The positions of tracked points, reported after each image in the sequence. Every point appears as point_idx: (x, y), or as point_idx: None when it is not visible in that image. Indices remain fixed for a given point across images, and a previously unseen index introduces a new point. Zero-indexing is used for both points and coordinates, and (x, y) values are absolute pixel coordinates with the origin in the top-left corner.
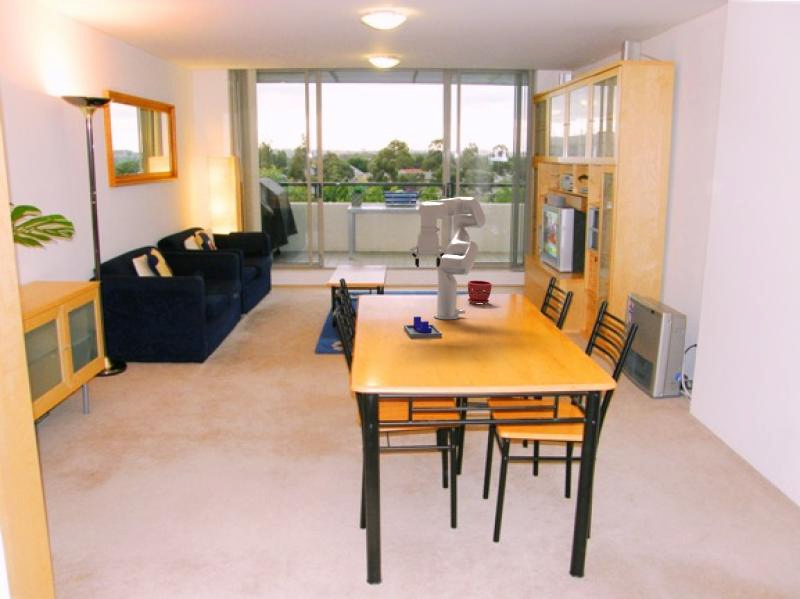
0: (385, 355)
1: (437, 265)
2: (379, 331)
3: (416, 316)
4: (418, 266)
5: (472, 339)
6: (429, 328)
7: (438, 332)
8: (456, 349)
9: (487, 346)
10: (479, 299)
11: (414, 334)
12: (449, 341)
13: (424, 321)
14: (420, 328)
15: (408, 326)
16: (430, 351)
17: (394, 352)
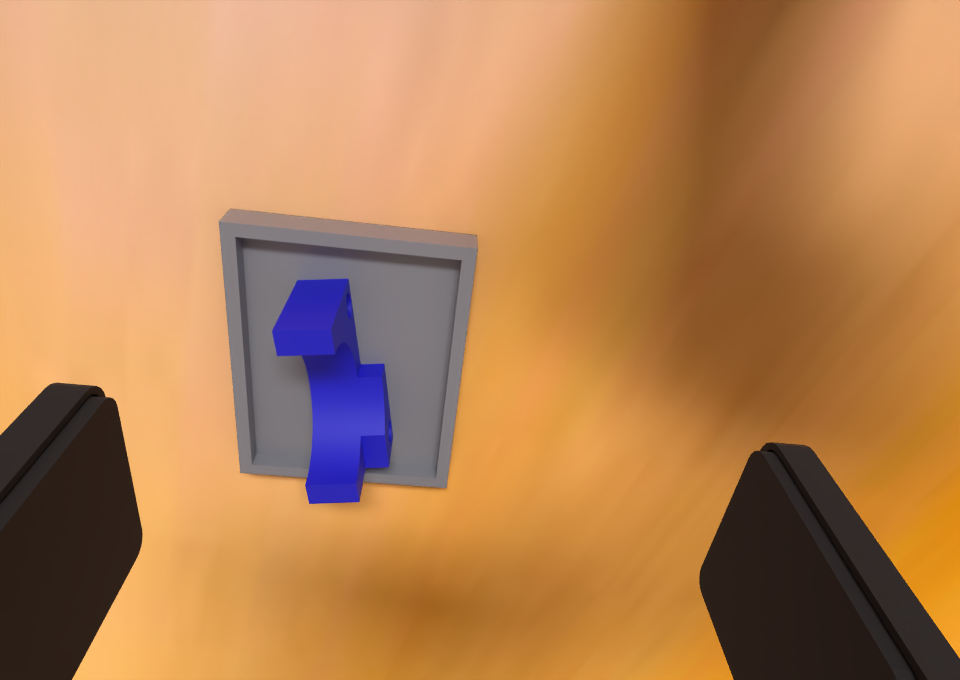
0: (93, 673)
1: (714, 602)
2: (22, 238)
3: (298, 333)
4: (121, 563)
5: (608, 522)
6: (372, 466)
7: (439, 447)
8: (442, 646)
9: (611, 629)
10: None
11: (266, 472)
12: (462, 536)
13: (328, 494)
14: (314, 435)
15: (260, 235)
16: (311, 654)
17: (136, 646)
